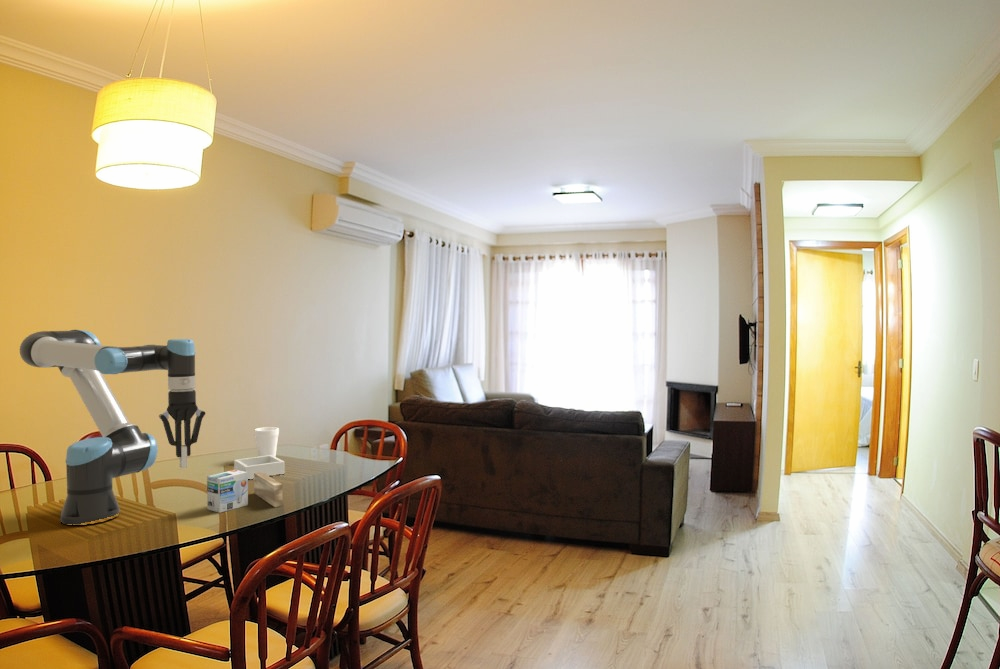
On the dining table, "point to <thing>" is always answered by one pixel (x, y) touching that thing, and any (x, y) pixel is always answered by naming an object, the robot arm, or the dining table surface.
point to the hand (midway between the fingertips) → (183, 467)
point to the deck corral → (260, 465)
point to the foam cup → (266, 440)
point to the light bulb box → (227, 490)
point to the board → (268, 489)
